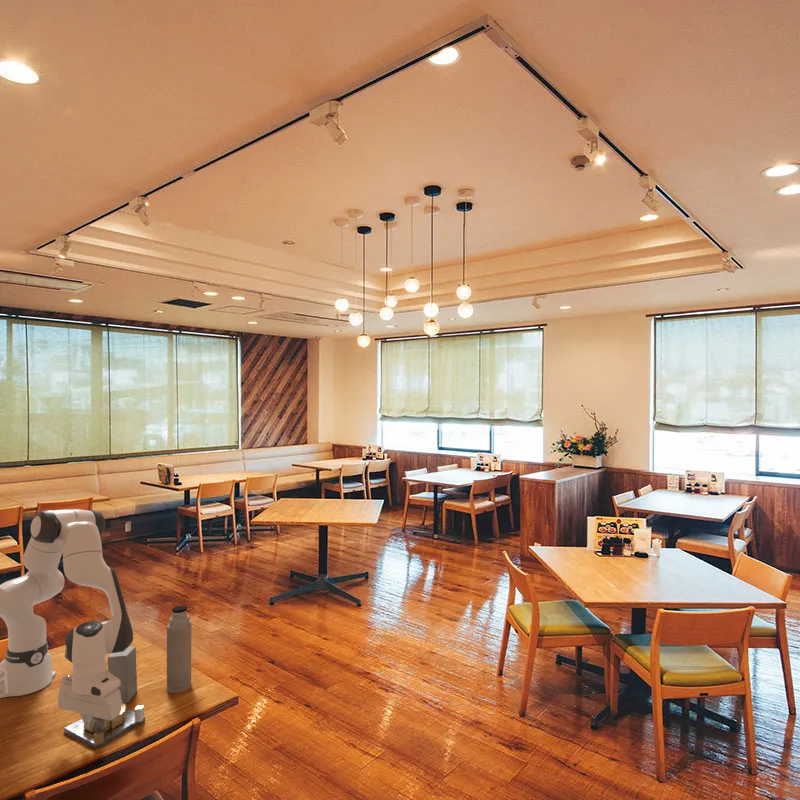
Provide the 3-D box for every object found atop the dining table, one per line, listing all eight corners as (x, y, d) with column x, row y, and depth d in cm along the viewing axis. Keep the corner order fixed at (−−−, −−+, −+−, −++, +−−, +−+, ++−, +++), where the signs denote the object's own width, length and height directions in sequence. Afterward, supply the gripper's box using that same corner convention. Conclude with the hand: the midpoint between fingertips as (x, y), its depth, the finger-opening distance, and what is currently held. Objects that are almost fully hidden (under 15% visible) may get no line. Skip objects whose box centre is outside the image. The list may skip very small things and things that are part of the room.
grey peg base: (64, 732, 167) (64, 698, 167) (114, 707, 181) (114, 675, 181) (98, 751, 158) (98, 714, 158) (148, 722, 172) (148, 689, 172)
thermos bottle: (162, 693, 189) (163, 612, 189) (172, 681, 197) (172, 603, 197) (186, 693, 189) (186, 612, 189) (194, 681, 197) (194, 603, 197)
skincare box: (128, 704, 183) (128, 656, 183) (105, 705, 182) (106, 657, 182) (138, 690, 191) (138, 645, 191) (117, 691, 190) (117, 645, 190)
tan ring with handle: (88, 714, 173) (88, 689, 173) (127, 708, 177) (127, 683, 177) (76, 748, 157) (76, 720, 157) (119, 740, 160) (119, 712, 160)
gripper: (52, 679, 160) (52, 726, 161) (107, 692, 154) (107, 741, 155) (71, 669, 167) (70, 714, 167) (125, 681, 160) (125, 728, 161)
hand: (88, 727), depth 161 cm, fingers closed
